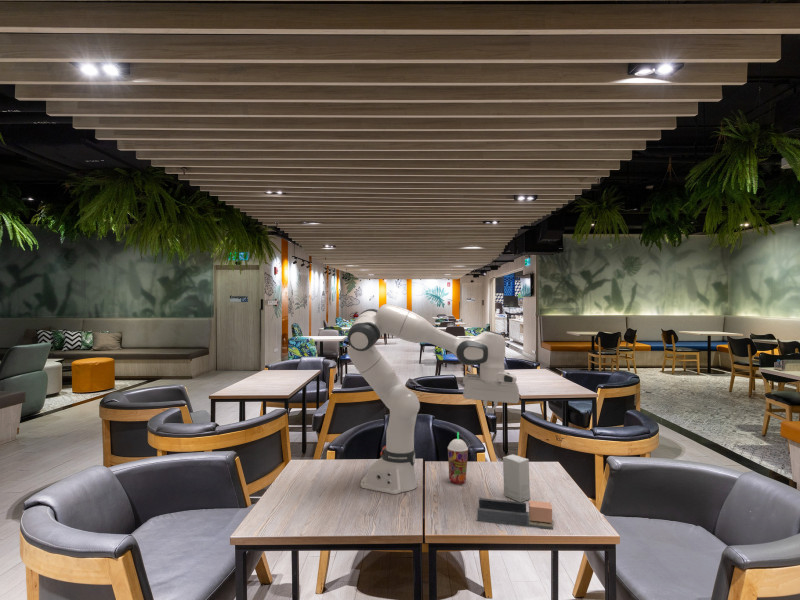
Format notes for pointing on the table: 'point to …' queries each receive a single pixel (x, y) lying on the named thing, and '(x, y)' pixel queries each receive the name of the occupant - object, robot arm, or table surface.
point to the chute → (507, 513)
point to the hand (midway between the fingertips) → (490, 413)
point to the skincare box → (516, 478)
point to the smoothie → (457, 460)
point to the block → (540, 511)
